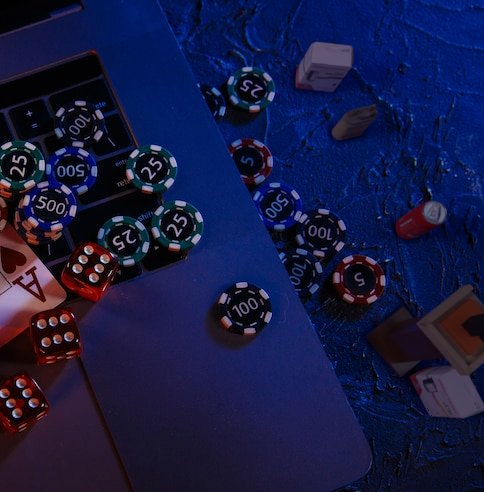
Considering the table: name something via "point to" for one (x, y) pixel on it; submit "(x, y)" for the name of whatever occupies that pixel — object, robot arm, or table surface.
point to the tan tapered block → (354, 122)
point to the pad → (458, 330)
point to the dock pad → (444, 340)
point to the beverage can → (421, 220)
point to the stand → (402, 342)
